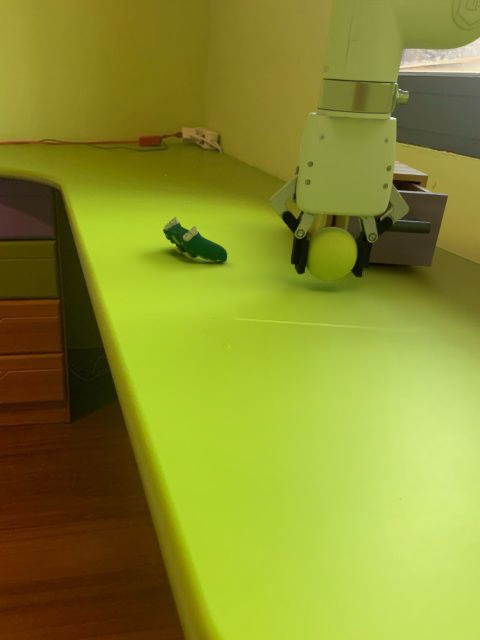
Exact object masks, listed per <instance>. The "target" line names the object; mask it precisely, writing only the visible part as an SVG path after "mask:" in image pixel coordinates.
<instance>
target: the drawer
mask: <svg viewBox="0 0 480 640" xmlns="http://www.w3.org/2000/svg"><path fill="white" fill-rule="evenodd" d="M392 183H393V185H394V186H395V188H396V189H397V191H398V192H399V194H400V195H401V197H402V198H403V199H404V201H405V202H406V204H407V205H408V207H409V212H408V213H407V214H406V215H405V216H403V217H402V218H401V219H399V220H398V221H397V222H395V223H394V224H392V226H391V227H390V228H389V229H388V230H386V231H385V232H384V233H383V234H381V235H380V236H379V237H378V239H377V240H376V241H375V242H373V244H372V249H371V255H370V260H369V264H370V263H371V264H372V263H373V264H386V265H402V266H416V267H432V263H433V258H434V255H435V251H436V246H437V243H438V239H439V236H440V235H439V234H440V231H441V226H442V222H443V219H444V215H445V211H446V207H447V202H448V198H449V195H448V194H447V193H441V192H433V191H431V190H429V189H427V188H426V189H425V188H423V187H421V186H419V185H417V184H415V183H413V182H411V181H401V180H393V181H392ZM390 208H391V204H390V203H388V206H387V209H386V211H385V212H384V213H382V214H380V215H377V216H374V218H375V220H376V219H378V218H379V217H380V216H382V215H384V214H385V213H387V211H389V210H390ZM331 227H338V228H341V229H344V230H346V231H347V232H348V233H350V234H351V235H352V237H353V238H354V240H355V239H356V238H357V236H359V235H360V232H361V229H360V224H359V219H358V216H348V215H333V220H332V226H331Z"/></svg>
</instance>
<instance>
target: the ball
mask: <svg viewBox="0 0 480 640" xmlns="http://www.w3.org/2000/svg"><path fill="white" fill-rule="evenodd" d="M308 239H309V248H308V255H307V261H306V269H307V270H308V272H309V273H310V274H311V275H312V276H313V277H315V278H317V279H318V280H321V281H324V282H325V281H326V282H333V281H334V282H335V281H338V280H340V279H343V278H344V277H346V276H347V275H348V274H350V273H351V270H352V269H353V267H354V265H355V263H356V261H357V256H358V249H357V244H356V242H355V240H354V238H353V237H352V235H351V234H350V233H348V232H347V231H346V230H344V229H341V228H338V227H327V228H323V229H321V230H319V231H317V232H316V233H314V234H313V235H312V236H311V235H310V237H309V238H308Z"/></svg>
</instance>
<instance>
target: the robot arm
mask: <svg viewBox="0 0 480 640" xmlns="http://www.w3.org/2000/svg"><path fill="white" fill-rule="evenodd" d="M331 1H332V4H331V11H330V17H329V24H328V29H327V30H328V31H327V39H326V45H325V52H324V59H323V67H322V73H321V82H320V89H319V95H318V102H317V109H316V112H309V113H308V115H307V117H306V121H305V124H304V127H303V131H302V135H301V139H300V144H299V148H298V153H297V156H296V157H297V158H296V162H295V169H294V173H293V176H292V177H291V178H290V179H289V180H288V181H287V182H286V183H285V184H283V185H282V186H281V187H280V188H279V189H278V190H277V191H276V192H275V193H273V195H272V196H270V197H269V199H268V204H269V206H270V207H271V208H272V209H273V211H274V212H275V213H276V214H277V216H278V217H279V218H280V219H281V220H282V222H283V223H284V224H285V225H286V227H287V228H288V229H289V230H290V231H291V232H292V234H293V240H292V241H293V242H292V247H291V255H290V264H291V266H294V270H295V271H296V274H297V275H303V274H305V273H306V269H307V267H306V261H307V255H308V248H309V239H310V238H308V234H309V232H308V230H309V228H310V226H311V224H312V222H313V220H314V218H315V217H316V215H317V214H329V215H348V216H358V219H359V224H360V229H361V232H360V235H359V236H357V238H356V239H355V242H356V244H357V249H358V256H357V261H356V263H355V265H354V267H353V269H352V270H351V271H350V273H352V274H353V275H354V277H356V278H362V277H363V274H364V269H368V267H369V265H370V262H369V260H370V255H371V249H372V244H373V242H375V241H376V240H377V239H378V237H379V236H380V235H381V234H383V233H384V232H385V231H386V230H388V229H389V228H390V227H391V226H392V224H394V223H395V222H397V221H398V220H399V219H401V218H402V217H403V216H405V215H406V214H407V213H408V212H409V207H408V205H407V204H406V202H405V201H404V199H403V198H402V197H401V195H400V194H399V192H398V191H397V189H396V188H395V186H394V185H393V183H392V181H393V173H394V164H395V161H396V149H397V118H396V117H393V116H392V113H394V112H395V111H394V110H395V109H396V107H399V106H406V105H407V104H408V101H409V98H410V97H409V96H410V95H409V92H410V91H408V90H405V91H404V90H402V89H400V87H399V84H398V79H399V73H400V68H401V63H402V57H403V52H404V50H416V49H417V50H453V49H454V50H455V49H459V48H462V47H465V46H468V45H470V44H472V43H473V42H475V41H477V40H479V39H480V0H331ZM290 198H291V201H292V203H294V204H295V205H296V207H297V208H298V210H299V212H298V214H297V216H295V215H294V213H292V211H291V210H290V209H289V208H288V206H287V205H286V203H287V201H288V200H289V199H290ZM388 203H390V204H391V208H390V210H389V211H387V213H385V214H384V215H382V216H380V217H379V218H378V219H376V220H375V218H374V216H377V215H380V214H382V213H384V212H385V211H386V209H387V206H388Z"/></svg>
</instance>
